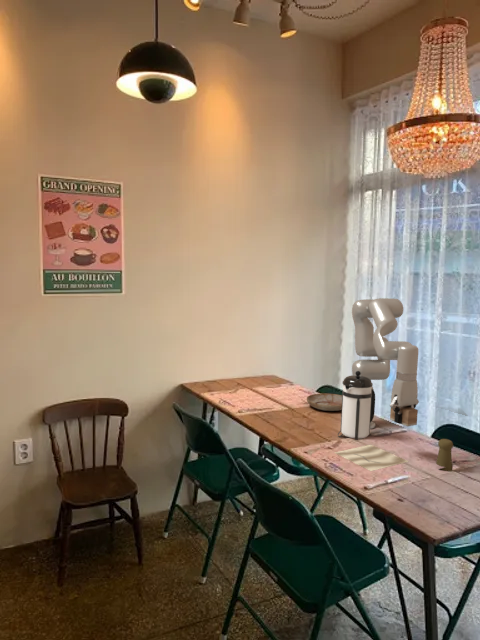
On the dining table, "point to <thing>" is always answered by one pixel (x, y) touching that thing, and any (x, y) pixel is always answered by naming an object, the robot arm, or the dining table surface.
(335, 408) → the ceramic bowl
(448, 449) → the cork
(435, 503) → the dining table surface
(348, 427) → the coffee press
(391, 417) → the block
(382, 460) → the birch board
